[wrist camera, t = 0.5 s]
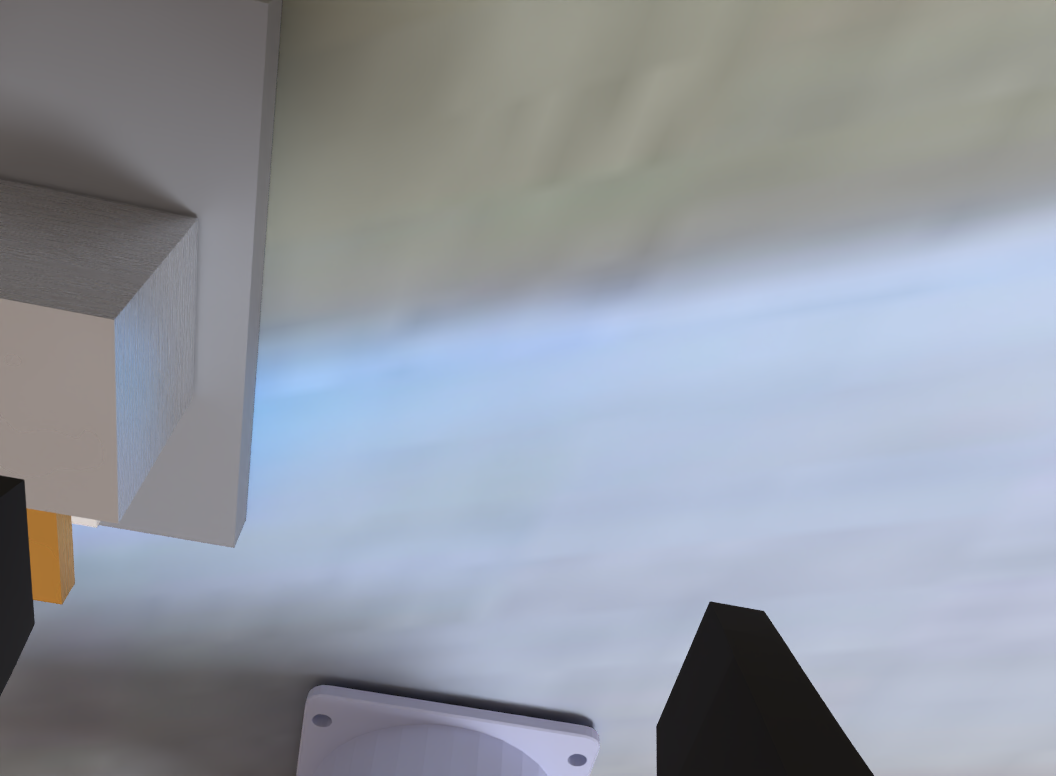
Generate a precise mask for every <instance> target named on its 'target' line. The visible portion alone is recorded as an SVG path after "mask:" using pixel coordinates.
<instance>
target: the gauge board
mask: <svg viewBox="0 0 1056 776" xmlns="http://www.w3.org/2000/svg"><path fill="white" fill-rule="evenodd" d="M281 14H282V0H0V179H3V180H8V181H13V182H19V183H24V184H29V185H34V186H39V187H44V188H49V189H54V190H59V191H64V192H69V193H74V194H79V195H84V196H89V197H94V198H99V199H104V200H109V201H114V202H119V203H124V204H129V205H134V206H139V207H144V208H149V209H154V210H159V211H164V212H169V213H174V214H179V215H184V216H189V217H194V218H198V245H197V278H196V312H195V345H194V378H193V399H192V400H191V402H190V404H189V405H188V407H187V409H186V410H185V412H184V414H183V415H182V417H181V419H180V421H179V422H178V424H177V426H176V427H175V429H174V431H173V432H172V434H171V436H170V437H169V439H168V441H167V442H166V444H165V446H164V448H163V449H162V451H161V453H160V454H159V456H158V458H157V459H156V461H155V463H154V464H153V466H152V468H151V470H150V471H149V473H148V475H147V476H146V478H145V480H144V481H143V483H142V485H141V486H140V488H139V490H138V491H137V493H136V495H135V497H134V498H133V500H132V502H131V503H130V505H129V507H128V508H127V510H126V512H125V513H124V515H123V517H122V519H121V520H120V522H119V524H117V523H111V522H105V521H99V520H93V519H87V518H81V517H75V516H71V521H72V523H73V524H79V525H85V526H90V527H96V528H97V526H98V525H102V526H108V527H114V528H120V529H126V530H132V531H138V532H144V533H150V534H156V535H162V536H167V537H173V538H179V539H185V540H191V541H197V542H203V543H209V544H215V545H221V546H227V547H233V548H234V547H235V544H236V542H237V540H238V537H239V535H240V533H241V530H242V528H243V525H244V523H245V521H246V511H247V497H248V483H249V469H250V455H251V440H252V426H253V412H254V398H255V383H256V369H257V355H258V341H259V327H260V312H261V298H262V284H263V270H264V256H265V241H266V227H267V213H268V199H269V184H270V170H271V156H272V142H273V128H274V113H275V99H276V85H277V71H278V57H279V42H280V28H281Z"/></svg>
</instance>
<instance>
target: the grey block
mask: <svg viewBox="0 0 1056 776" xmlns="http://www.w3.org/2000/svg"><path fill="white" fill-rule="evenodd" d="M197 245H198V218H194V217H189V216H184V215H179V214H174V213H169V212H164V211H159V210H154V209H149V208H144V207H139V206H134V205H129V204H124V203H119V202H114V201H109V200H104V199H99V198H94V197H89V196H84V195H79V194H74V193H69V192H64V191H59V190H54V189H49V188H44V187H39V186H34V185H29V184H24V183H19V182H13V181H8V180H3V179H0V475H1V476H7V477H13V478H18V479H24V480H25V494H26V508H27V523H28V537H29V551H30V565H31V580H32V594H33V600H38V601H44V602H50V603H56V604H63V602H64V600H65V599H66V597H67V595H68V594H69V592H70V590H71V589H72V587H73V585H74V584H75V577H74V558H73V540H72V521H71V516H75V517H81V518H87V519H93V520H99V521H105V522H111V523H117V524H119V522H120V520H121V519H122V517H123V515H124V513H125V512H126V510H127V508H128V507H129V505H130V503H131V502H132V500H133V498H134V497H135V495H136V493H137V491H138V490H139V488H140V486H141V485H142V483H143V481H144V480H145V478H146V476H147V475H148V473H149V471H150V470H151V468H152V466H153V464H154V463H155V461H156V459H157V458H158V456H159V454H160V453H161V451H162V449H163V448H164V446H165V444H166V442H167V441H168V439H169V437H170V436H171V434H172V432H173V431H174V429H175V427H176V426H177V424H178V422H179V421H180V419H181V417H182V415H183V414H184V412H185V410H186V409H187V407H188V405H189V404H190V402H191V400H192V399H193V378H194V345H195V312H196V278H197Z"/></svg>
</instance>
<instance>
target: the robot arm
mask: <svg viewBox="0 0 1056 776" xmlns="http://www.w3.org/2000/svg"><path fill="white" fill-rule="evenodd" d="M34 624H35V623H34V608H33V594H32V580H31V565H30V551H29V537H28V523H27V508H26V494H25V480H24V479H18V478H13V477H7V476H1V475H0V695H1V693H2V691H3V689H4V687H5V685H6V684H7V682H8V680H9V678H10V676H11V674H12V671H13V669H14V667H15V665H16V663H17V661H18V659H19V656H20V654H21V652H22V650H23V648H24V646H25V644H26V642H27V639H28V637H29V635H30V633H31V631H32V629H33V627H34ZM322 714H324V715H322ZM656 733H657V776H874V775H873V773H872V772H871V771H870V769H869V768H868V766H867V765H866V763H865V762H864V760H863V759H862V758H861V756H860V755H859V753H858V752H857V750H856V749H855V748H854V746H853V745H852V743H851V742H850V740H849V739H848V737H847V736H846V734H845V733H844V731H843V730H842V728H841V727H840V725H839V724H838V722H837V721H836V720H835V718H834V716H833V715H832V713H831V712H830V710H829V709H828V707H827V706H826V704H825V703H824V701H823V700H822V698H821V697H820V695H819V694H818V692H817V691H816V689H815V688H814V686H813V685H812V683H811V682H810V680H809V679H808V677H807V676H806V674H805V673H804V671H803V669H802V668H801V666H800V665H799V663H798V662H797V660H796V659H795V657H794V656H793V654H792V653H791V651H790V649H789V648H788V646H787V645H786V643H785V642H784V640H783V639H782V637H781V636H780V634H779V633H778V631H777V630H776V628H775V627H774V625H773V624H772V622H771V621H770V619H769V618H768V616H767V615H766V613H765V612H764V611H760V610H755V609H749V608H744V607H738V606H732V605H727V604H721V603H716V602H709V605H708V607H707V609H706V612H705V614H704V616H703V619H702V621H701V623H700V626H699V628H698V630H697V633H696V635H695V637H694V640H693V642H692V644H691V647H690V649H689V651H688V654H687V656H686V659H685V661H684V663H683V666H682V668H681V670H680V673H679V675H678V677H677V680H676V682H675V684H674V687H673V689H672V691H671V694H670V696H669V698H668V701H667V703H666V705H665V708H664V710H663V712H662V715H661V717H660V719H659V722H658V724H657V726H656ZM599 749H600V739H599V734H598V733H597V731H596V730H594V729H593V728H591V727H588V726H584V725H578V724H572V723H565V722H559V721H553V720H546V719H540V718H533V717H527V716H521V715H514V714H508V713H502V712H495V711H489V710H483V709H476V708H470V707H464V706H457V705H451V704H445V703H438V702H432V701H426V700H419V699H413V698H407V697H400V696H394V695H388V694H381V693H375V692H369V691H362V690H356V689H349V688H343V687H337V686H330V685H320V686H316V687H314V688H312V689H311V690H310V691H309V693H308V696H307V699H306V703H305V710H304V718H303V725H302V733H301V741H300V749H299V756H298V764H297V772H296V776H590V773H591V770H592V768H593V765H594V763H595V760H596V757H597V755H598V752H599Z"/></svg>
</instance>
